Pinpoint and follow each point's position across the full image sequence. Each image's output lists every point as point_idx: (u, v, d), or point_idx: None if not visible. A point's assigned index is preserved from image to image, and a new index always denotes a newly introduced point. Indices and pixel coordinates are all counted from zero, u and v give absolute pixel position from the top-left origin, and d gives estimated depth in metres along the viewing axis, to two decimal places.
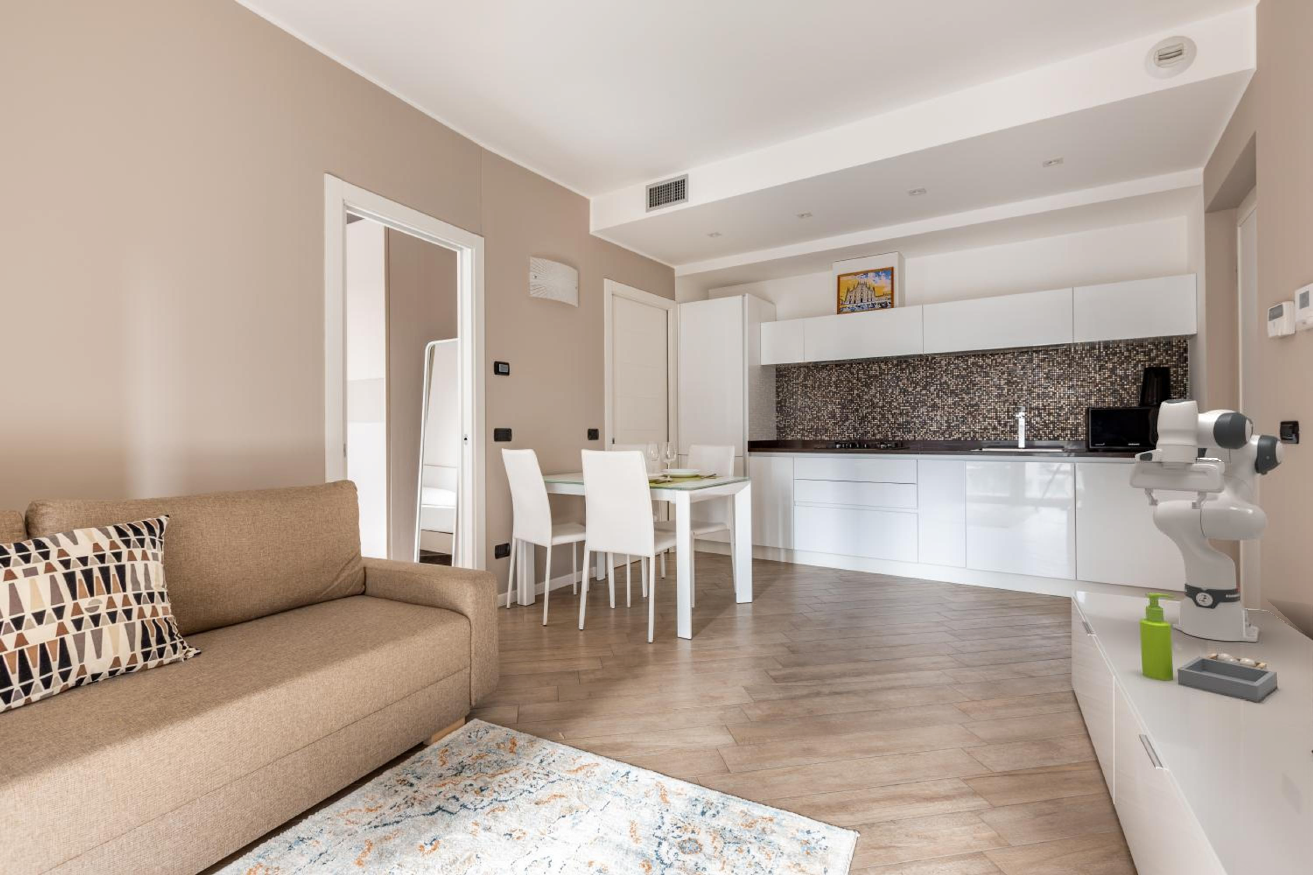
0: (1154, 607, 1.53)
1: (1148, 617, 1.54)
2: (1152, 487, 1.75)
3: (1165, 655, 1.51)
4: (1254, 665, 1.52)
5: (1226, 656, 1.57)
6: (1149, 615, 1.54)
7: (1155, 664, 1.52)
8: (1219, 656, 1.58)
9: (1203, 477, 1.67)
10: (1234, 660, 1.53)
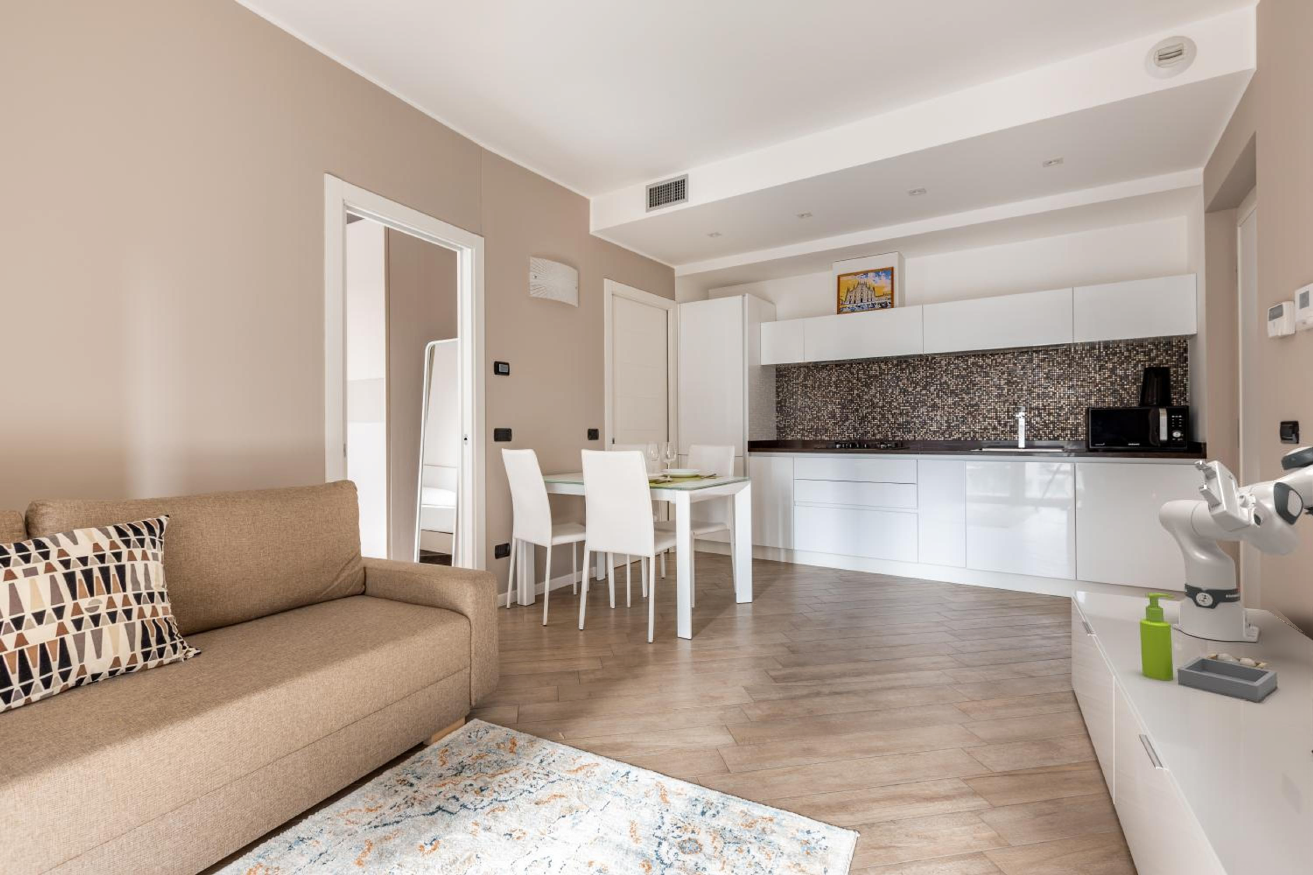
0: (1154, 607, 1.53)
1: (1148, 617, 1.54)
2: None
3: (1165, 655, 1.51)
4: (1254, 665, 1.52)
5: (1226, 656, 1.57)
6: (1149, 615, 1.54)
7: (1155, 664, 1.52)
8: (1219, 656, 1.58)
9: None
10: (1234, 660, 1.53)
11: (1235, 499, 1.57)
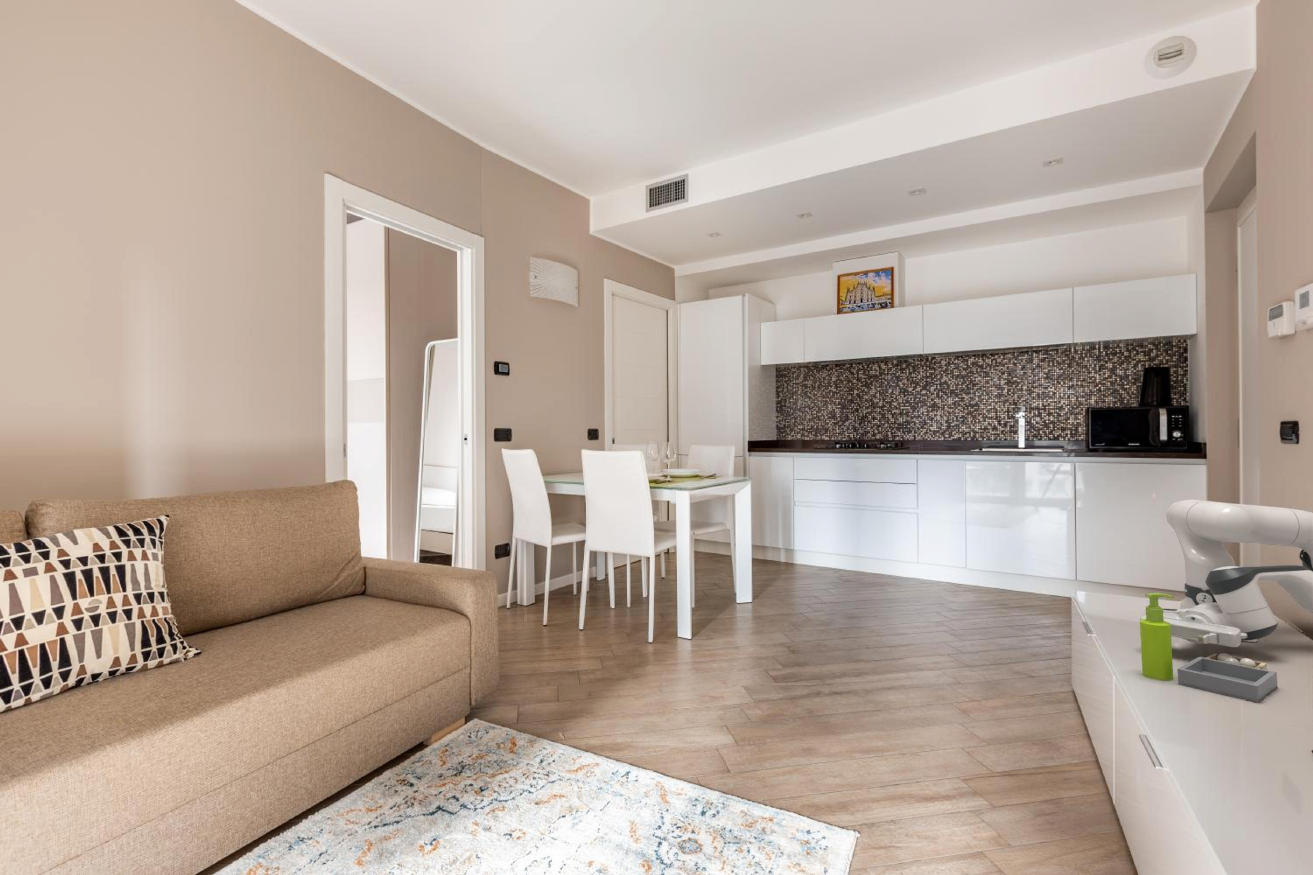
0: (1154, 607, 1.53)
1: (1148, 617, 1.54)
2: None
3: (1165, 655, 1.51)
4: (1254, 665, 1.52)
5: (1226, 656, 1.57)
6: (1149, 615, 1.54)
7: (1155, 664, 1.52)
8: (1219, 656, 1.58)
9: None
10: (1234, 660, 1.53)
11: None
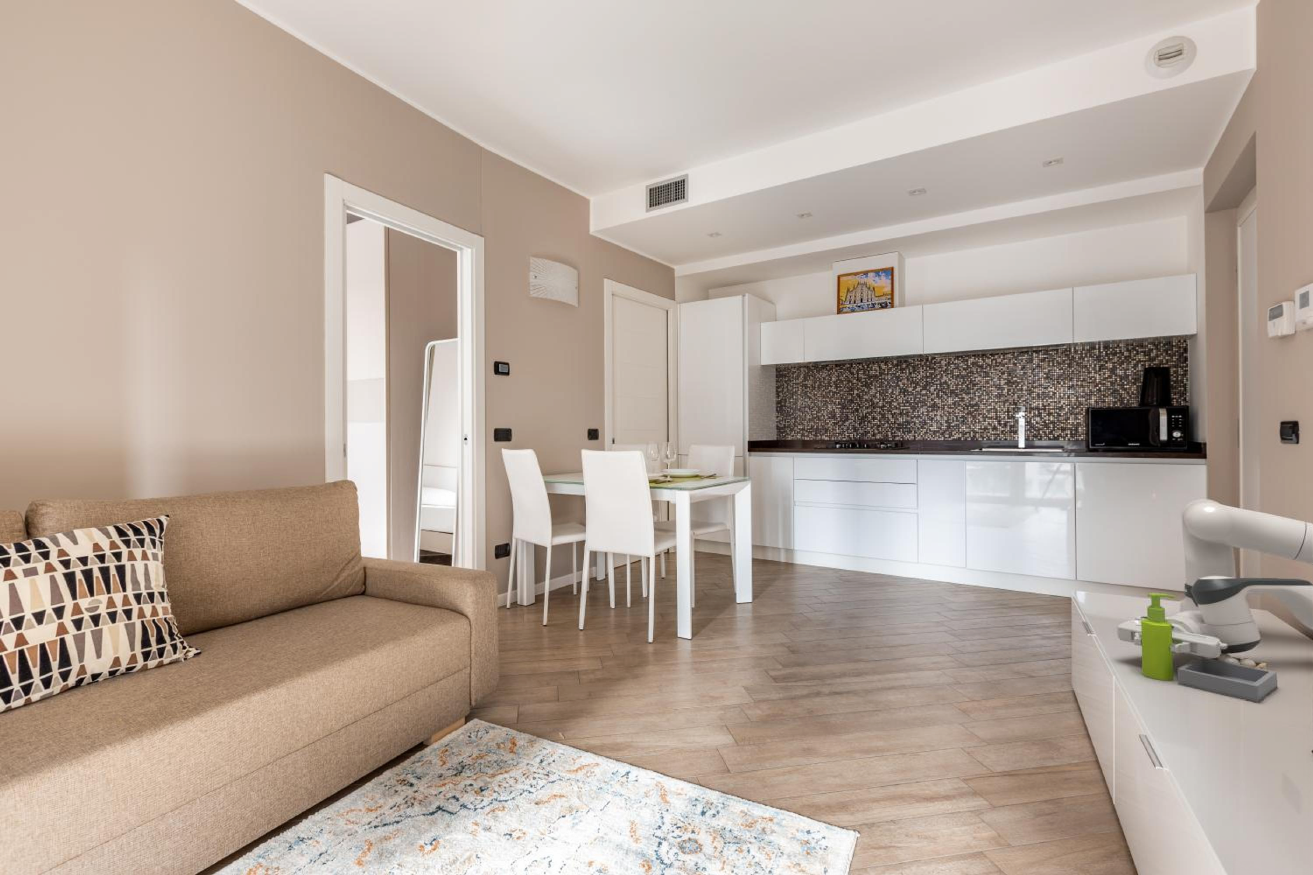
0: (1156, 607, 1.53)
1: (1149, 617, 1.54)
2: None
3: (1166, 655, 1.51)
4: (1254, 665, 1.52)
5: (1226, 656, 1.57)
6: (1150, 615, 1.53)
7: (1155, 664, 1.52)
8: (1219, 656, 1.58)
9: None
10: (1234, 660, 1.53)
11: None
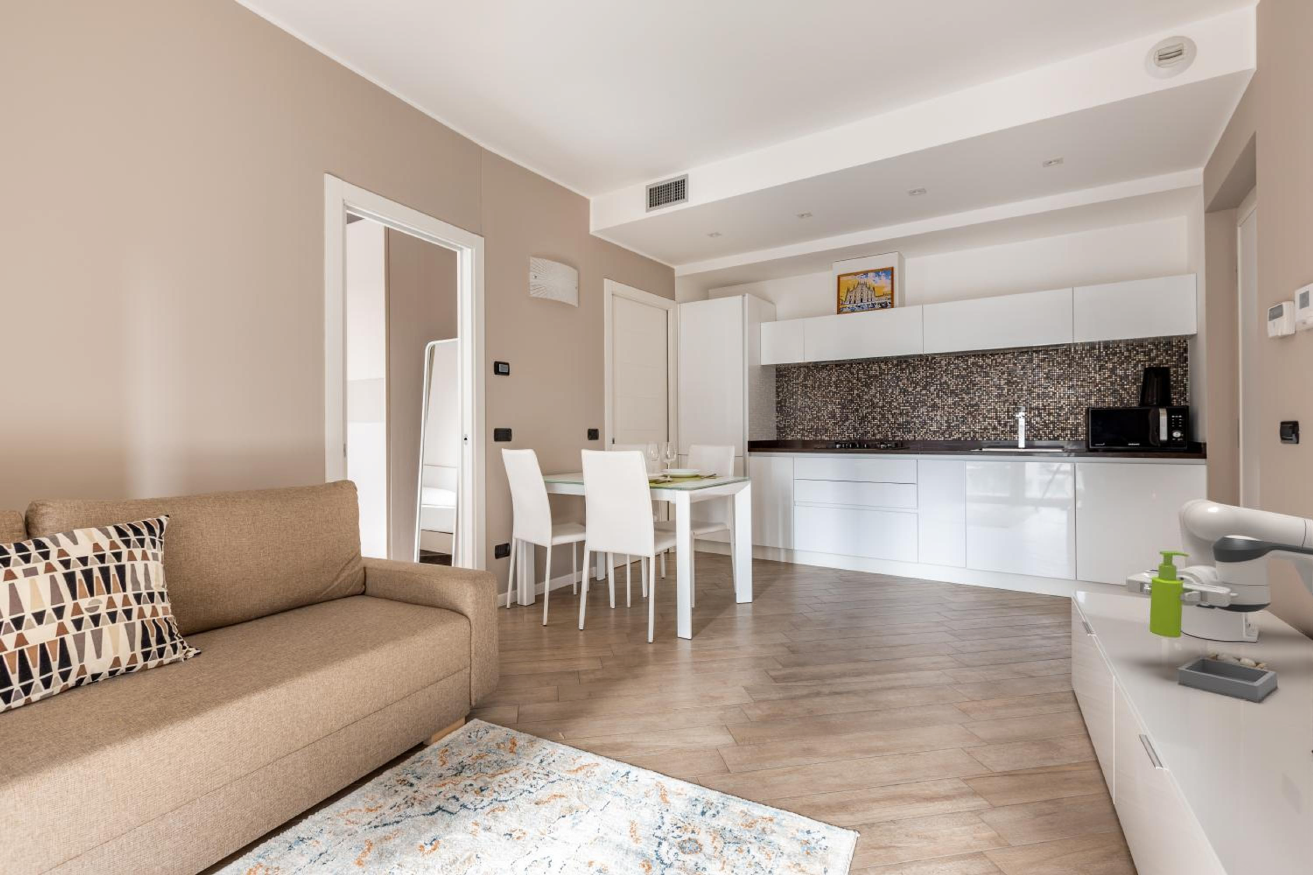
0: (1168, 565, 1.51)
1: (1160, 574, 1.52)
2: (1150, 581, 1.58)
3: (1175, 613, 1.50)
4: (1254, 665, 1.52)
5: (1226, 656, 1.57)
6: (1162, 573, 1.52)
7: (1163, 621, 1.51)
8: (1219, 656, 1.58)
9: None
10: (1234, 660, 1.53)
11: None
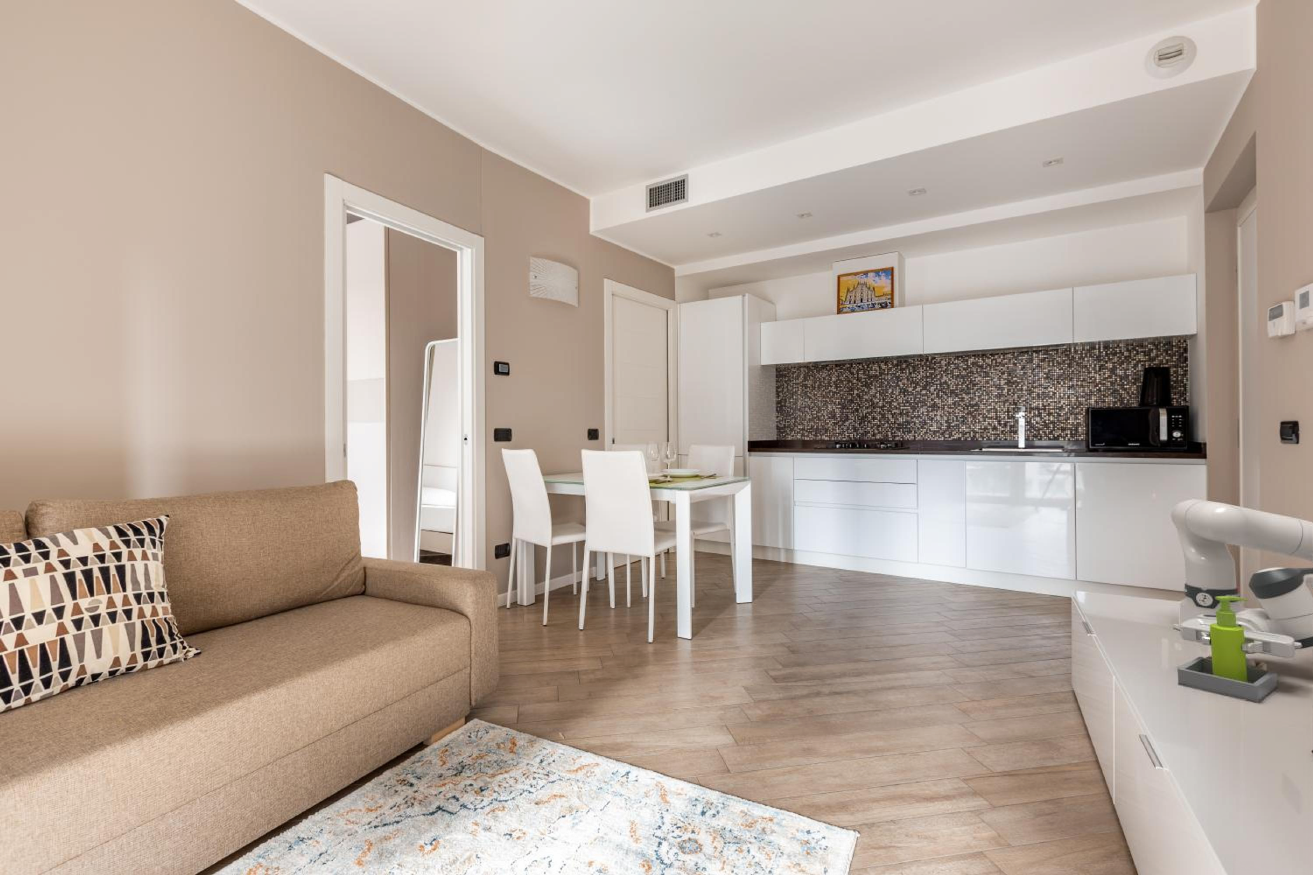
0: (1226, 611, 1.46)
1: (1219, 621, 1.46)
2: (1207, 629, 1.52)
3: (1239, 662, 1.43)
4: (1254, 665, 1.52)
5: None
6: (1220, 619, 1.46)
7: (1228, 671, 1.44)
8: None
9: None
10: None
11: None
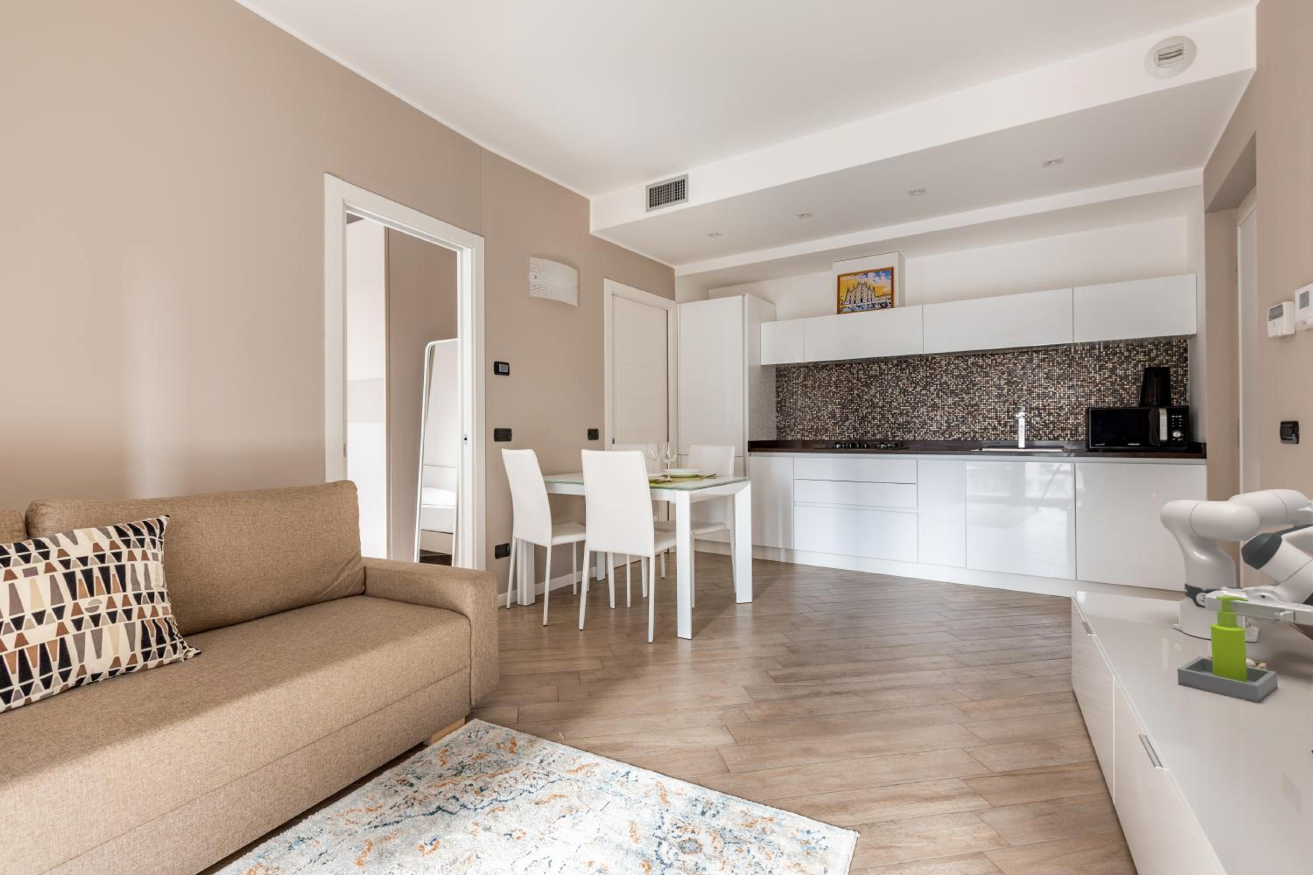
0: (1227, 611, 1.46)
1: (1220, 621, 1.46)
2: None
3: (1240, 662, 1.43)
4: (1254, 665, 1.52)
5: None
6: (1221, 619, 1.46)
7: (1228, 671, 1.44)
8: None
9: None
10: None
11: None
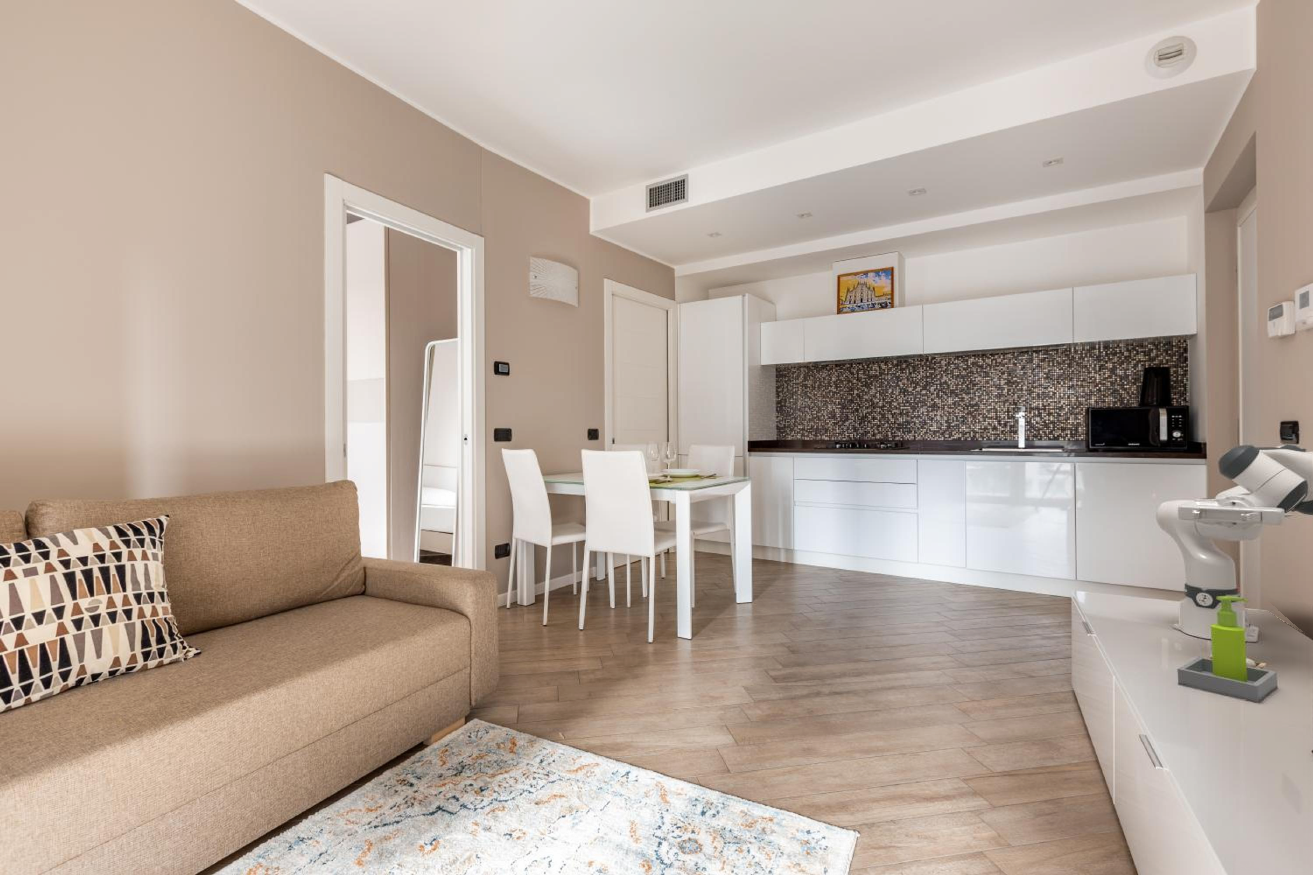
0: (1227, 611, 1.46)
1: (1220, 621, 1.46)
2: (1203, 507, 1.63)
3: (1240, 662, 1.43)
4: (1254, 665, 1.52)
5: None
6: (1221, 619, 1.46)
7: (1228, 671, 1.44)
8: None
9: None
10: None
11: None
